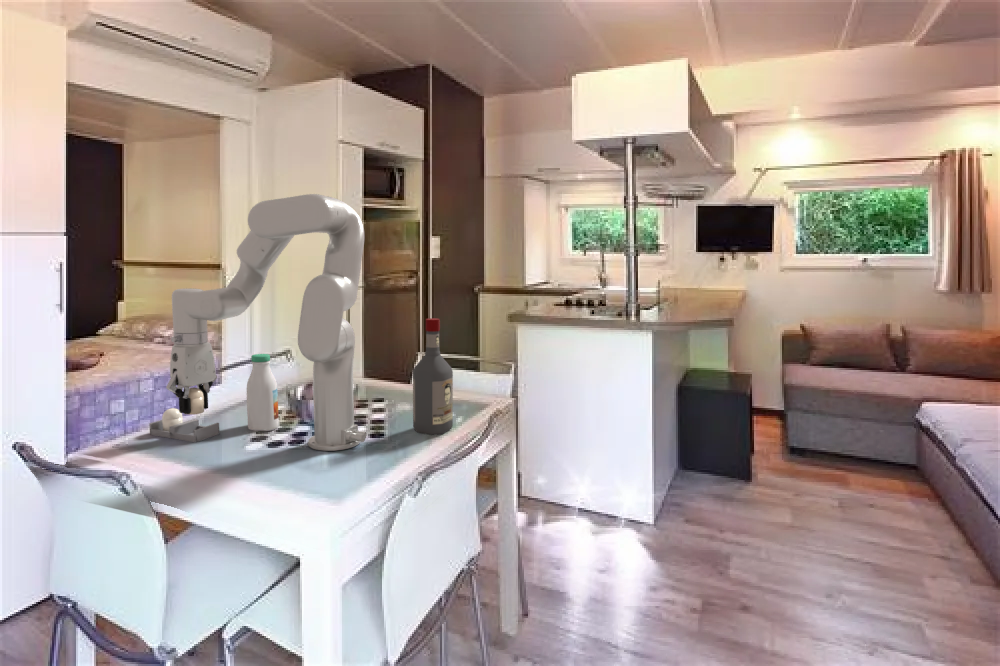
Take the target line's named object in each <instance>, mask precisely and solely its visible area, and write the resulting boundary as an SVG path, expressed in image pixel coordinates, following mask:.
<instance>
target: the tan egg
mask: <svg viewBox="0 0 1000 666" xmlns="http://www.w3.org/2000/svg"><path fill="white" fill-rule="evenodd" d="M188 398H190V399H191V413H190V414H186V416H187V415H188V416H189V415H190V416H192V415H201V414H203V413H204V412H205V409H204V396H203V392H202V391H201V390H200V389H198V388H197V387H194V386H192V387H190V388H189V395H188Z"/></svg>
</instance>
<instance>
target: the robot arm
mask: <svg viewBox="0 0 1000 666" xmlns="http://www.w3.org/2000/svg"><path fill="white" fill-rule="evenodd" d="M247 225H248V228H249V229H250V231H249V232H248V233H247V235H246V237H244V239H243V240H242V241H241V243H240V244H239V245H238V246H237V249H236V256H237V257H238V259H239V262H240V263H239V268H238V271H237V272H236V274H235V275H234V277H233V278H232V280H231V281H230V282H229V283H228V284H227V286H226V287H222V288H215V289H208V290H203V289H200V288H177V289H174V290H173V292H172V294H171V311H172V313H171V314H172V327H173V328H172V330H173V336H171V338H170V341H171V342H172V343H173V345H172V346H171V352H170V360H169V361H170V362H169V375H170V378H169V381H168V382H167V384H166V387H165V388H166V390H168V391H170V392H172V393H173V395H175V398H178V410H179V412H180V413H182V414H184V415H187V414H190V413H191V399H190V398H188V395H189V388H192V387H194V386H196V388H198V389H200V390H201V391H202V392H203V396H204V410H207V409H209V395H208V394H209V393H210V392H211V388H212V386H213V384H214V382H215V381H216V380H217V379H218V375H217V374H216V363H215V355H214V351H213V347H212V344H211V342H209V340H208V339H209V336H208V332H209V331H208V321H211V322H217V321H221V320H226V319H229V318H234V317H238V316H240V315H242V314H243V313H244V312H246V311H247V310H248V308H249V307H250V305H251V304H252V303H253V302H254V301H255V299H256V298H257V297H258V295H259V294H260V292H261V291H262V289H263V287H264V285H265V282H266V279H267V278H268V273H269V270H270V269H271V268H272V266H273V265H274V263H275V262H276V260H277V259H278V258H279V256H280V255H281V254H282V253H283V251H284V250H285V248H286V247H287V246H288V244H290V242H291V241H292V240H293V238H294V236H298V235H304V234H312V233H313V234H314V233H315V234H316V233H320V234H328V237H329V240H328V241H329V242H328V245H327V247H326V249H325V250H326V251H325V254H324V263H323V270H322V273H321V274H319V275H317V276H315V277H313V278H312V279H310V281H309V283H308V284H307V285H306V287H305V289H304V292H303V295H302V301H301V302H302V303H301V308H300V309H301V310H300V317H299V324H298V332H297V345H298V349H299V351H300V354H301V355H302V356H303V357H304V358H305V359H306V360H308V361H310V362H312V363H313V365H312V366H313V367H312V381H313V382H312V394H313V427H314V430H313V431H314V435H313V436H310V438H309V439H308V441H307V443H308V447H309V448H311V449H313V450H317V451H325V452H326V451H327V452H328V451H329V452H330V451H332V452H333V451H342V450H347V449H351V448H354V447H356V446H358V445H359V444H360V443H363V442H365V441H366V438H367V431H362V430H359V425H358V424H356V423H355V408H354V403H355V400H354V358H355V357H354V355H355V348H356V336H355V331H354V328H353V326H352V325H351V324H350V322H349V321H348V320H347V319H345V318H343V317H344V312H346V311H348V310H350V309H351V308H353V306H354V305H355V304H356V301H357V299H358V298H357V297H358V292H359V290H358V289H359V283H360V278H361V277H360V276H361V269H362V259H363V253H364V245H365V229H364V223H363V222H362V219H361V217H360V216H359V214H358V213H357V211H356V210H354V208H353V207H351V206H350V205H349V204H348V203H346V202H344V201H343V200H341V199H339V198H335V197H332V196H329V195H328V196H326V195H323V194H318V193H309V194H308V193H306V194H302V195H301V194H300V195H295V196H294V195H293V196H290V197H289V196H288V197H287V196H286V197H281V198H275V199H268V200H263V201H260V202H258V203H256V204H255V205H253V206H252V207H251V208H250V211H249V213H248V215H247Z"/></svg>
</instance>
